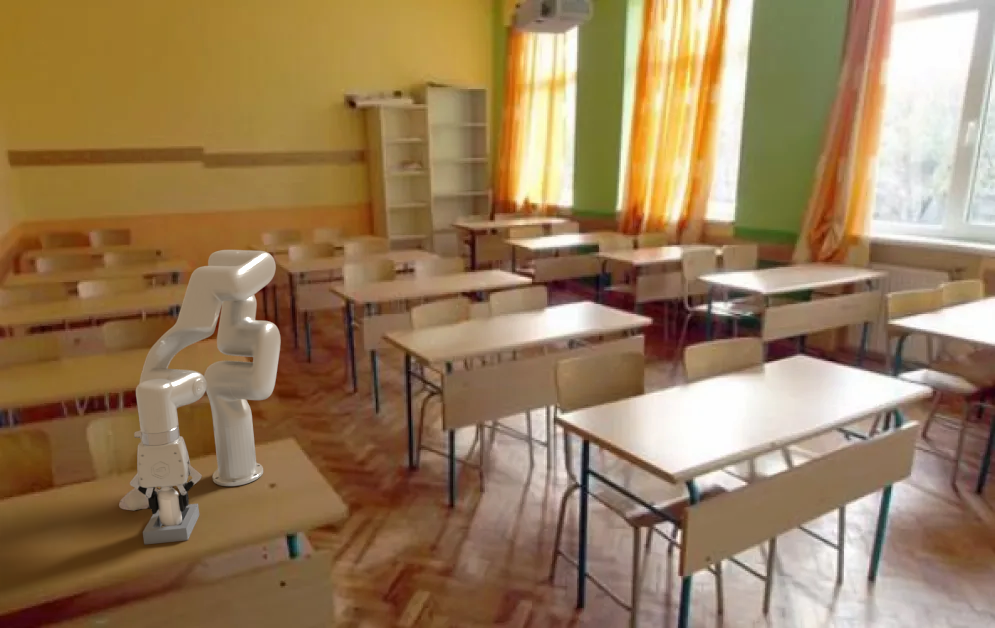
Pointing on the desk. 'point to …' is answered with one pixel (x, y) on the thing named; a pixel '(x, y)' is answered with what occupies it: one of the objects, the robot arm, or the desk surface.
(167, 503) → the eye dropper bottle
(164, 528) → the bottle holder
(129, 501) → the seashell
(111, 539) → the desk surface
